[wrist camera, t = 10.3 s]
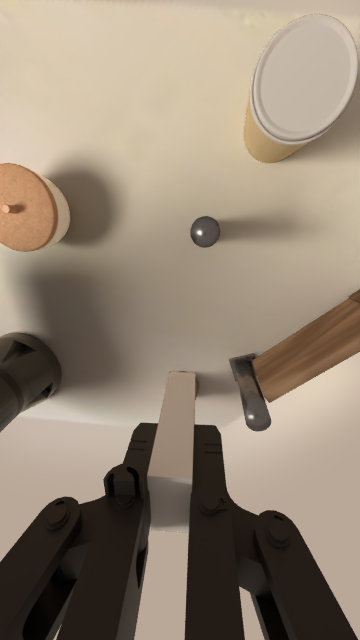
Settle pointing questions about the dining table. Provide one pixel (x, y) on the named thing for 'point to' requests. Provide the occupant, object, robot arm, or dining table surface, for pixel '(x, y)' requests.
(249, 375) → the gate frame
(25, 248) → the lidded jar
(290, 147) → the coffee cup
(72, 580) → the robot arm
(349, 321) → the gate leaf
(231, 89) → the dining table surface
